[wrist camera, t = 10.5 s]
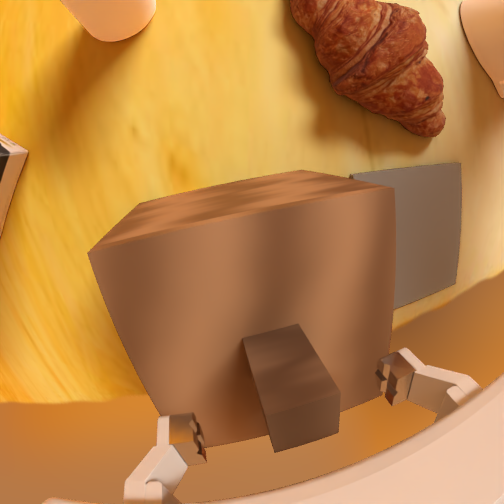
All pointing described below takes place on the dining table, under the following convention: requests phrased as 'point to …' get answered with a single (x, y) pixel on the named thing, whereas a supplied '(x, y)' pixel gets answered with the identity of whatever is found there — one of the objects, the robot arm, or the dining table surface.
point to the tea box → (9, 173)
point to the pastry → (377, 58)
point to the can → (112, 17)
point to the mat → (423, 227)
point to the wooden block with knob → (256, 302)
